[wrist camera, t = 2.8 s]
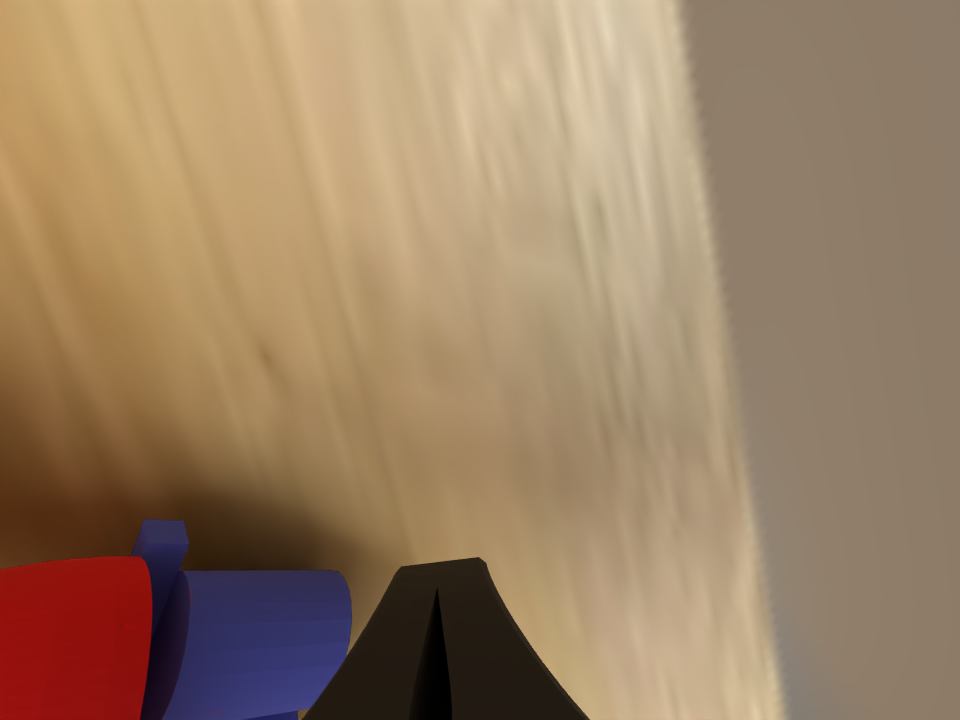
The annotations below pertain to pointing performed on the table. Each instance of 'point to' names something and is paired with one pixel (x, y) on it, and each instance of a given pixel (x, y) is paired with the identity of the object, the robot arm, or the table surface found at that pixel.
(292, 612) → the toy
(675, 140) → the table surface
